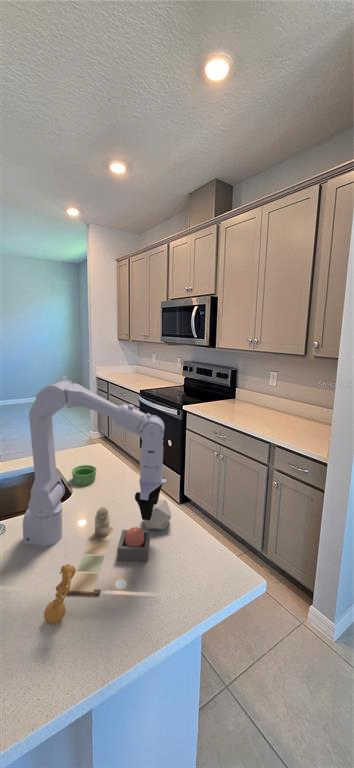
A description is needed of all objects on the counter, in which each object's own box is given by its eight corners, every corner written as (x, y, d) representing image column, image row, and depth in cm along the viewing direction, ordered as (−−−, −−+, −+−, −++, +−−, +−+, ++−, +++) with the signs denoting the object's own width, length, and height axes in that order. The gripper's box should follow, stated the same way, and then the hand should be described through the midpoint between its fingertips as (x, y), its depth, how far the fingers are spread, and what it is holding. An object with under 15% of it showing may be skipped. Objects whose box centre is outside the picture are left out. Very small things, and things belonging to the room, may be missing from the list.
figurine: (45, 606, 69) (43, 555, 67) (75, 599, 71) (74, 549, 69) (43, 642, 61) (41, 585, 59) (77, 633, 63) (76, 578, 61)
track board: (62, 594, 72) (62, 591, 72) (90, 528, 96) (90, 525, 96) (98, 595, 72) (98, 592, 72) (118, 529, 96) (118, 526, 96)
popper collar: (116, 563, 82) (116, 549, 81) (121, 542, 90) (121, 529, 89) (148, 565, 82) (148, 550, 81) (150, 544, 90) (151, 530, 89)
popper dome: (123, 552, 83) (123, 534, 82) (126, 539, 88) (126, 522, 87) (143, 553, 83) (143, 535, 82) (145, 540, 88) (145, 523, 87)
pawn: (93, 537, 91) (93, 511, 89) (96, 528, 95) (96, 504, 93) (107, 537, 91) (108, 512, 89) (110, 528, 95) (110, 504, 93)
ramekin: (67, 484, 121) (66, 473, 120) (79, 474, 130) (79, 463, 129) (89, 488, 119) (89, 476, 118) (100, 477, 128) (100, 466, 127)
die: (159, 542, 92) (179, 511, 94) (133, 524, 93) (153, 493, 94) (160, 534, 100) (178, 505, 102) (135, 517, 101) (154, 489, 103)
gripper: (161, 477, 78) (158, 529, 80) (171, 454, 92) (169, 499, 94) (132, 474, 79) (130, 525, 81) (147, 451, 93) (145, 496, 95)
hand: (149, 511), depth 88 cm, fingers open, 7 cm apart
